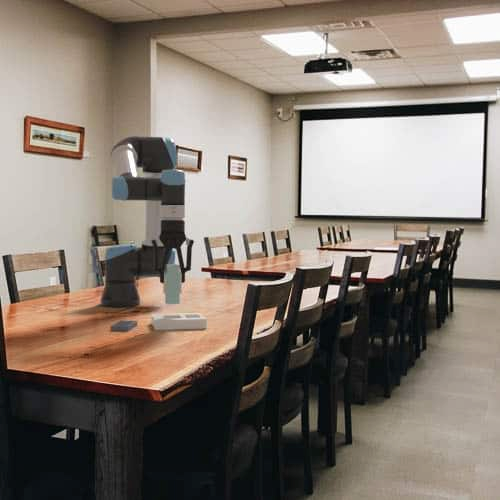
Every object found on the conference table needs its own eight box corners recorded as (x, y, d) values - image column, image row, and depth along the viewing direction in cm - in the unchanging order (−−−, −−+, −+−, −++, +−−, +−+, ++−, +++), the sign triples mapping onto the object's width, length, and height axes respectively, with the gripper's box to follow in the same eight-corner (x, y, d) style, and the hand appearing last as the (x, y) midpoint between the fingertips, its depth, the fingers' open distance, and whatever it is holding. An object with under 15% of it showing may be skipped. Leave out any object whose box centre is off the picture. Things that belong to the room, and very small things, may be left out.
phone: (120, 326, 207) (120, 320, 207) (137, 327, 207) (137, 320, 207) (110, 332, 197) (110, 325, 197) (128, 332, 197) (128, 326, 197)
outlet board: (151, 323, 211) (151, 313, 211) (200, 321, 215) (200, 312, 215) (154, 330, 199) (154, 319, 199) (206, 328, 203) (206, 318, 203)
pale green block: (165, 302, 207) (165, 263, 207) (177, 302, 208) (178, 263, 208) (166, 304, 204) (166, 264, 203) (179, 303, 204) (179, 264, 204)
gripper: (146, 219, 199) (146, 295, 200) (201, 219, 203) (201, 294, 204) (144, 218, 206) (144, 292, 207) (197, 219, 210) (197, 291, 211)
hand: (172, 293), depth 206 cm, fingers closed on pale green block, 4 cm apart
